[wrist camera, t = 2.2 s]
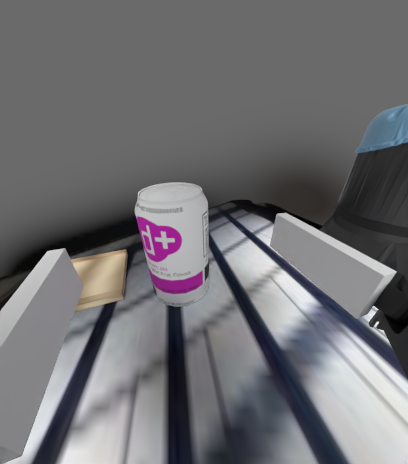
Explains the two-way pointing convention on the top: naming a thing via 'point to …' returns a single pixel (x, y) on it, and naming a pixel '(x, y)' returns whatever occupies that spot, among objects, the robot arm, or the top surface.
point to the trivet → (101, 278)
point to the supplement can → (175, 240)
